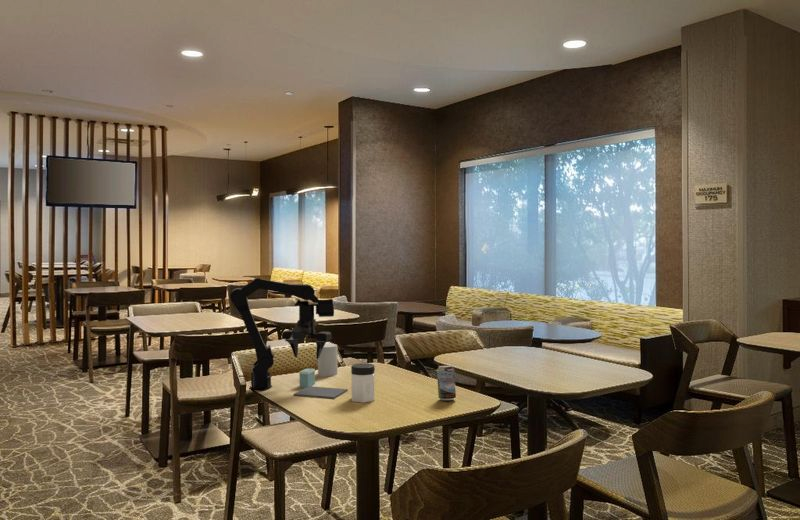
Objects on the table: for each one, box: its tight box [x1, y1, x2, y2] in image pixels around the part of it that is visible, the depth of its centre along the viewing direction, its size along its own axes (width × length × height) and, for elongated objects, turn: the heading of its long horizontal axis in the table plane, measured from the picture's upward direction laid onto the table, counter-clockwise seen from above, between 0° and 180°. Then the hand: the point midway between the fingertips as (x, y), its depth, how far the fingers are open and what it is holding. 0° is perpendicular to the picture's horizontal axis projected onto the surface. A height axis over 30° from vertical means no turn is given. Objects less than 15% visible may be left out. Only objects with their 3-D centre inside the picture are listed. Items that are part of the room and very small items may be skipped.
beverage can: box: [436, 365, 457, 401], centre depth 211 cm, size 6×7×12 cm
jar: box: [350, 362, 376, 404], centre depth 212 cm, size 9×8×12 cm
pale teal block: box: [298, 367, 316, 389], centre depth 233 cm, size 4×6×6 cm, turn 162°
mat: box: [293, 385, 349, 400], centre depth 221 cm, size 16×12×1 cm
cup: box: [317, 343, 339, 377], centre depth 253 cm, size 8×8×12 cm
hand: (306, 357), depth 232 cm, fingers open, 9 cm apart
